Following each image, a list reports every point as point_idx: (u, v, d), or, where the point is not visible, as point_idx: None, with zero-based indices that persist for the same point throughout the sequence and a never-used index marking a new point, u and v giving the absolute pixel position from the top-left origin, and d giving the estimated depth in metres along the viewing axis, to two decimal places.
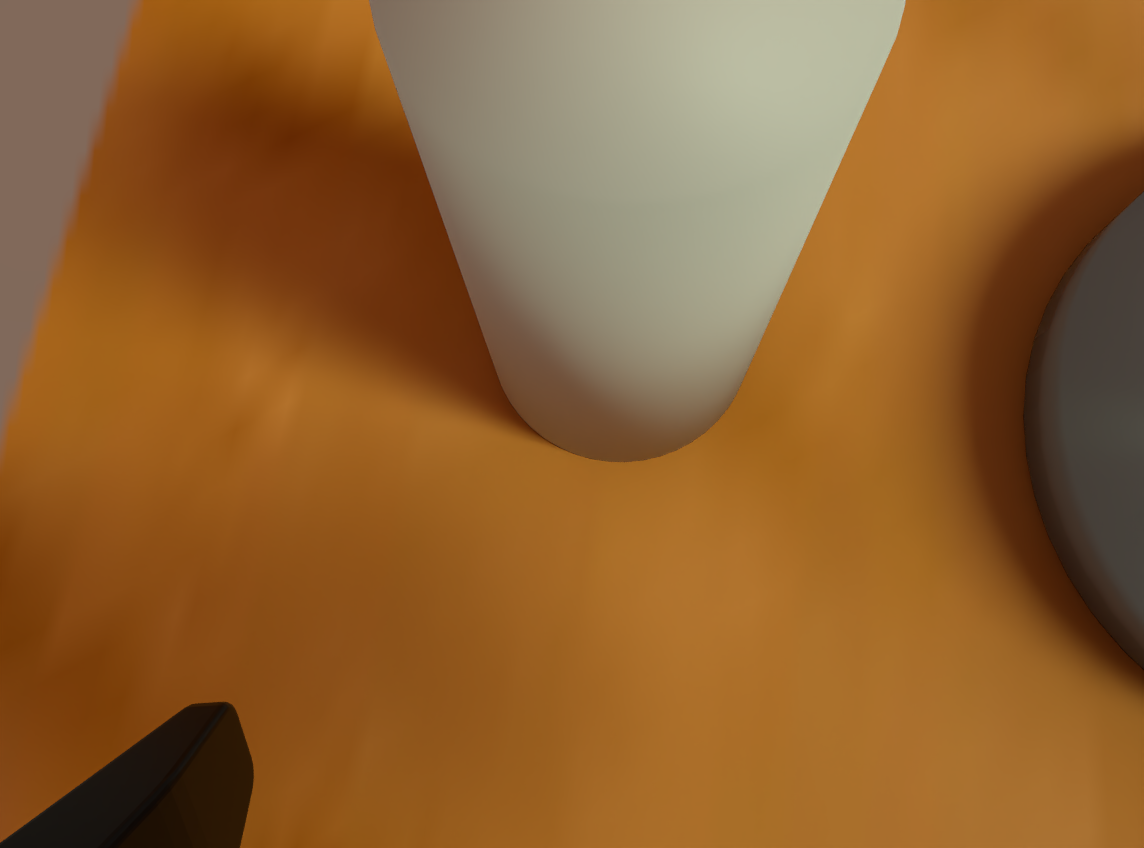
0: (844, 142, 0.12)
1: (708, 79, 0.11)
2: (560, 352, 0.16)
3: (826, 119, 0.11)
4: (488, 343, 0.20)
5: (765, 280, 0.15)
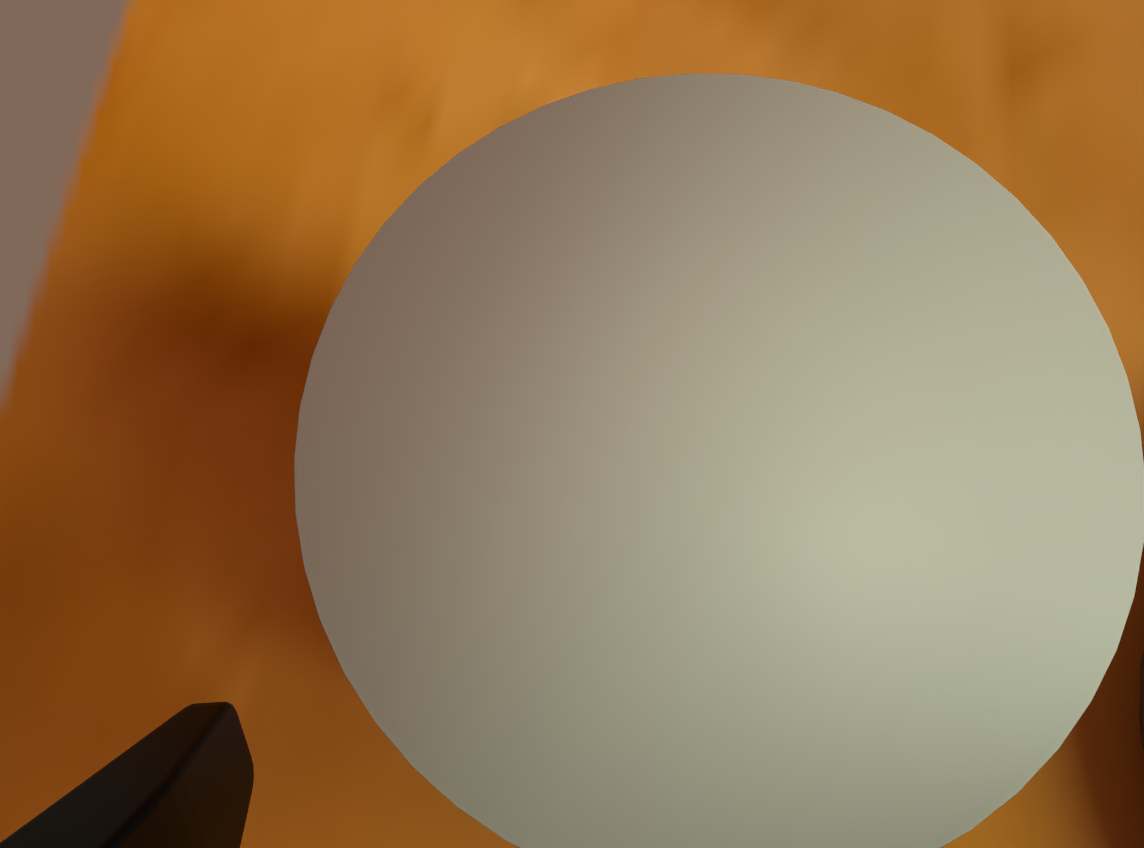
0: None
1: (834, 670, 0.07)
2: None
3: (1027, 750, 0.07)
4: None
5: None
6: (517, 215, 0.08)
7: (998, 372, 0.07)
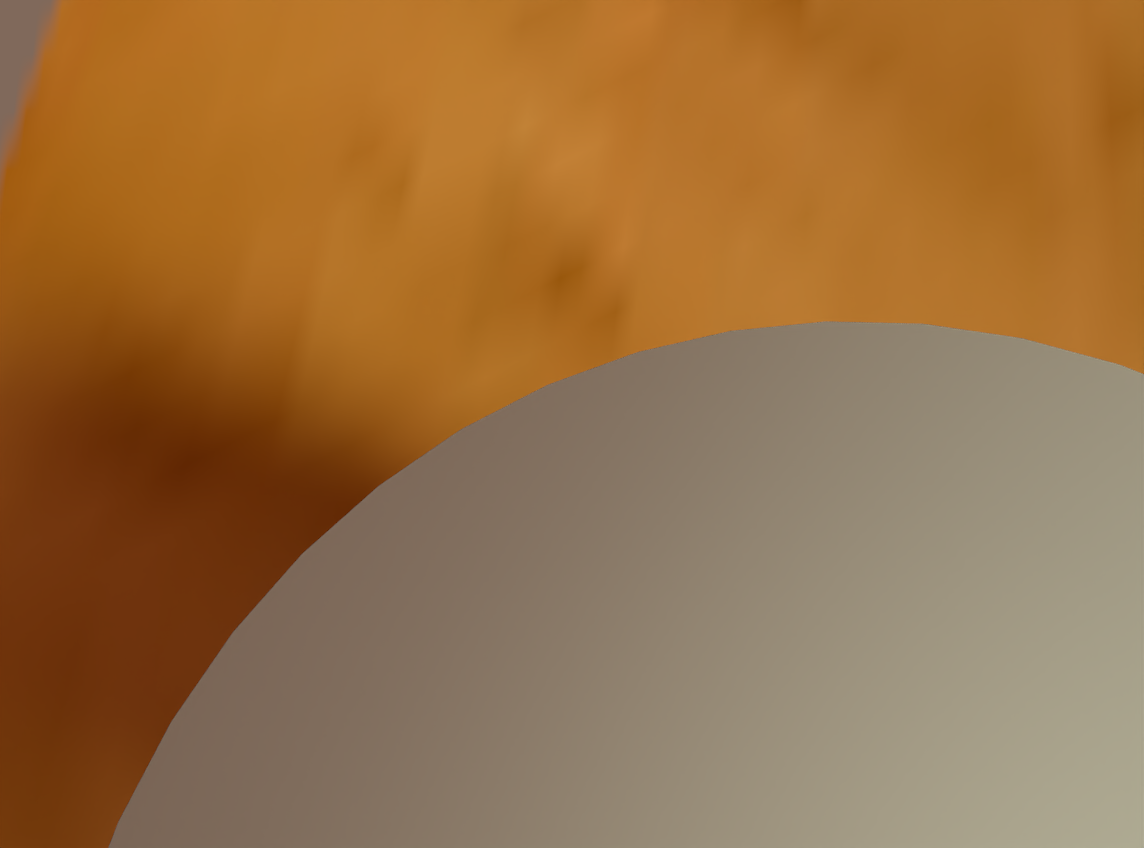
0: None
1: None
2: None
3: None
4: None
5: None
6: (496, 619, 0.04)
7: None
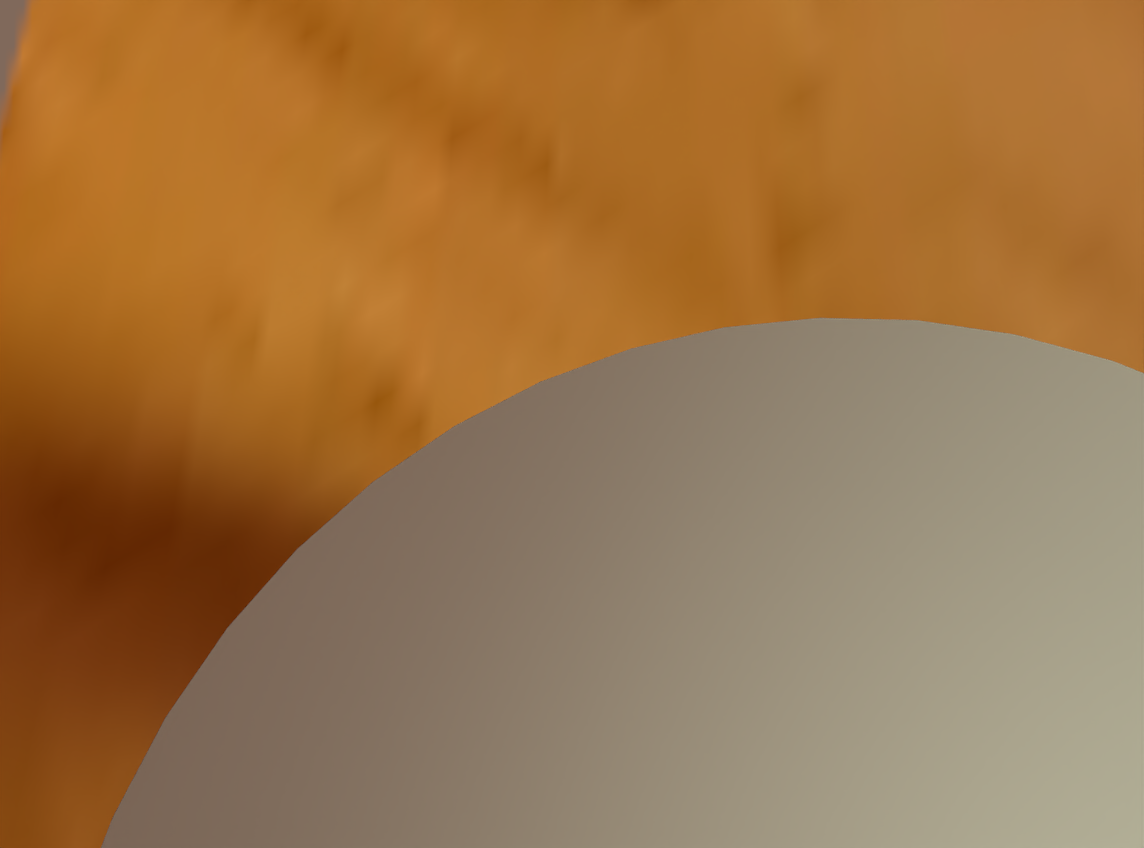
0: None
1: None
2: None
3: None
4: None
5: None
6: (489, 614, 0.04)
7: None
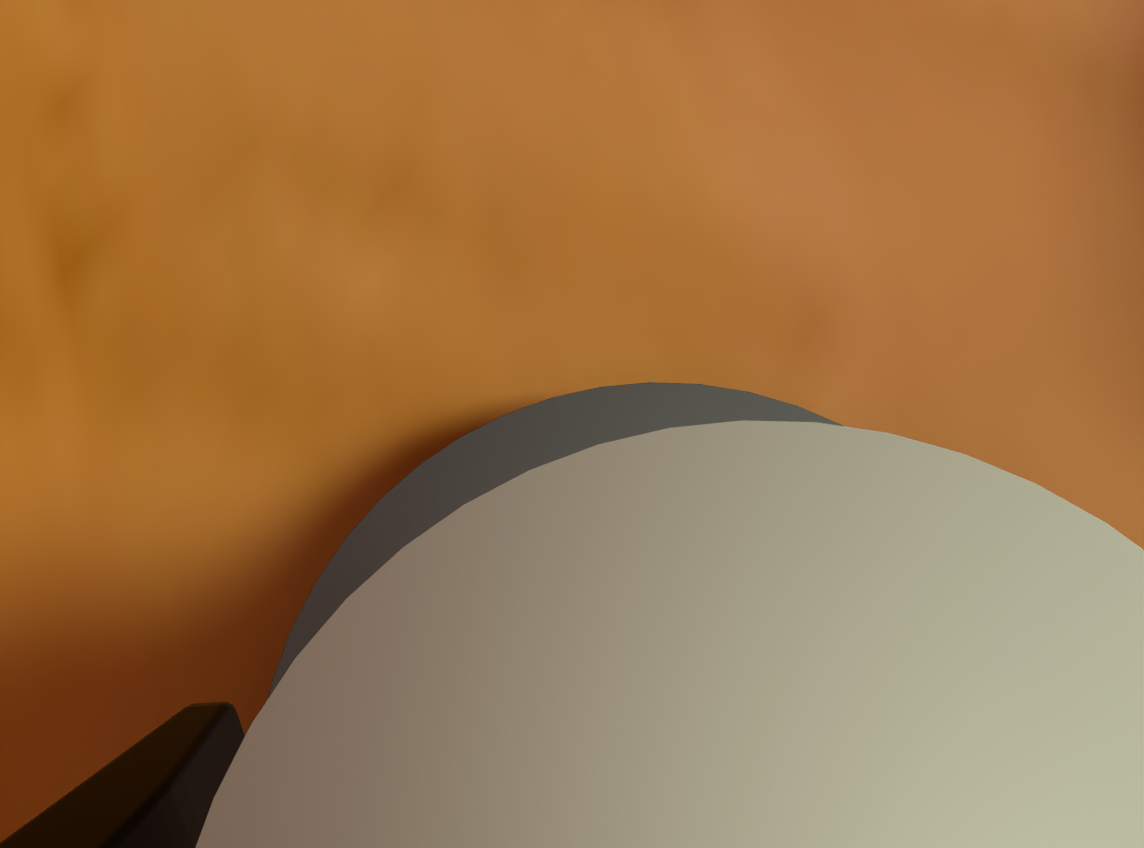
0: None
1: None
2: None
3: None
4: None
5: None
6: (490, 648, 0.05)
7: None
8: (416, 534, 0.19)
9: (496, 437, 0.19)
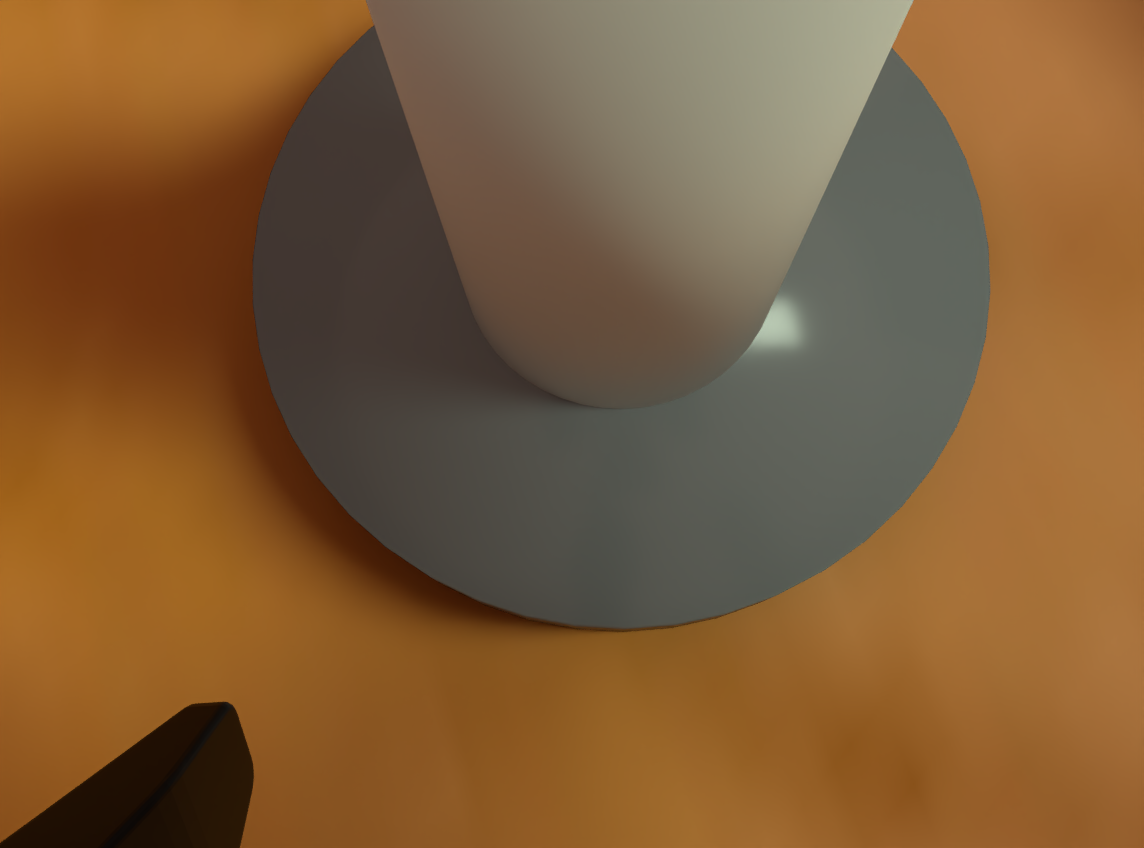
0: None
1: None
2: (538, 227, 0.12)
3: None
4: (451, 244, 0.16)
5: (830, 110, 0.10)
6: None
7: None
8: None
9: None
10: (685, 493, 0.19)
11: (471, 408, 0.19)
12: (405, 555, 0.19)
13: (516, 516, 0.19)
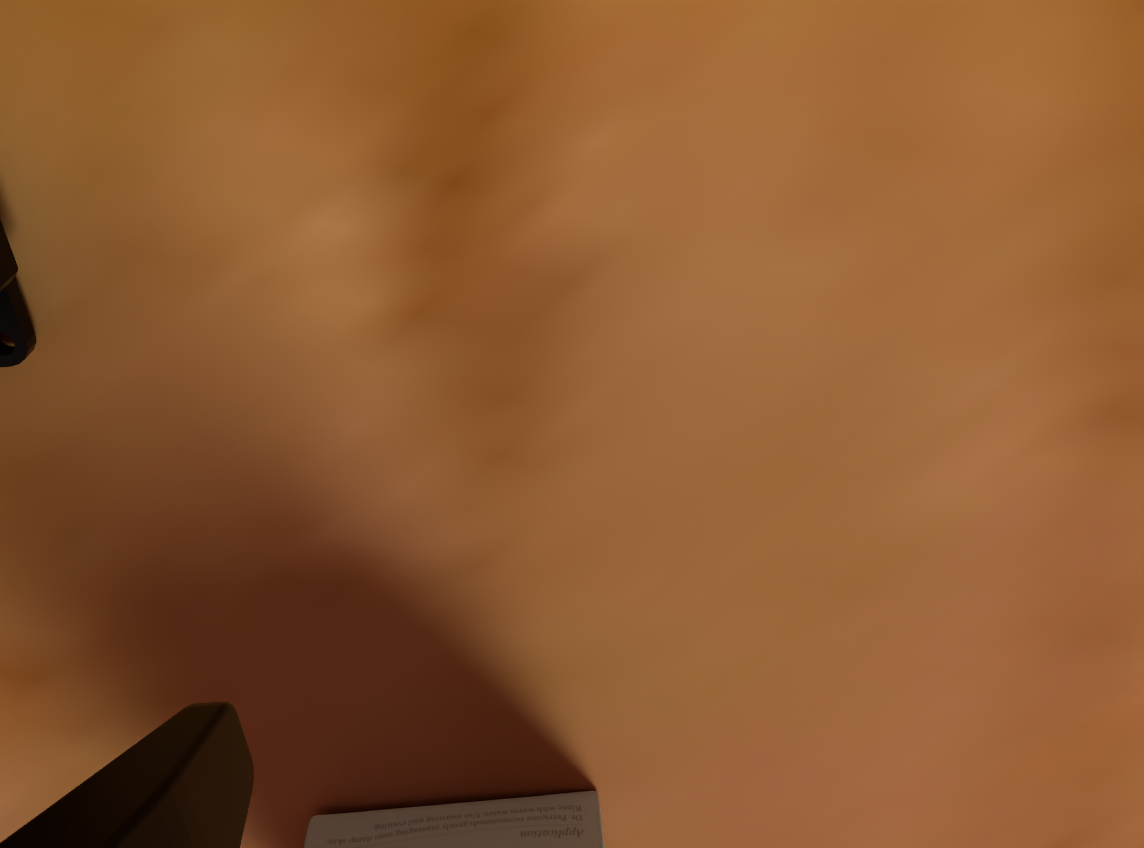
0: None
1: None
2: None
3: None
4: None
5: None
6: None
7: None
8: None
9: None
10: None
11: None
12: None
13: None
